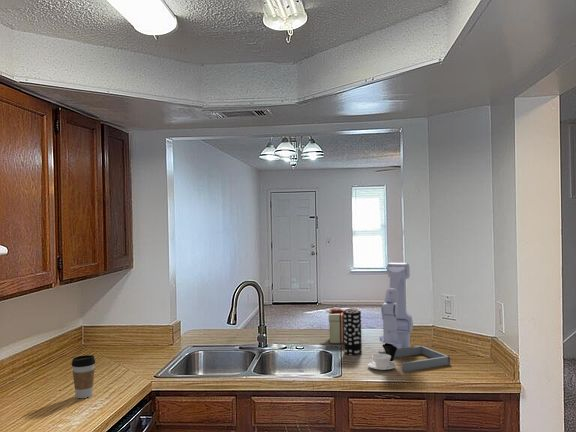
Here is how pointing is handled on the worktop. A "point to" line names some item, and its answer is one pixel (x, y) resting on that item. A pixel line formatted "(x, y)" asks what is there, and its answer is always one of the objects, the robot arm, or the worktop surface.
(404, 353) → the cubby
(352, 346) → the spotted tube
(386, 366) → the teacup
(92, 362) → the coffee cup
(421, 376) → the worktop surface
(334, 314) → the gift box
